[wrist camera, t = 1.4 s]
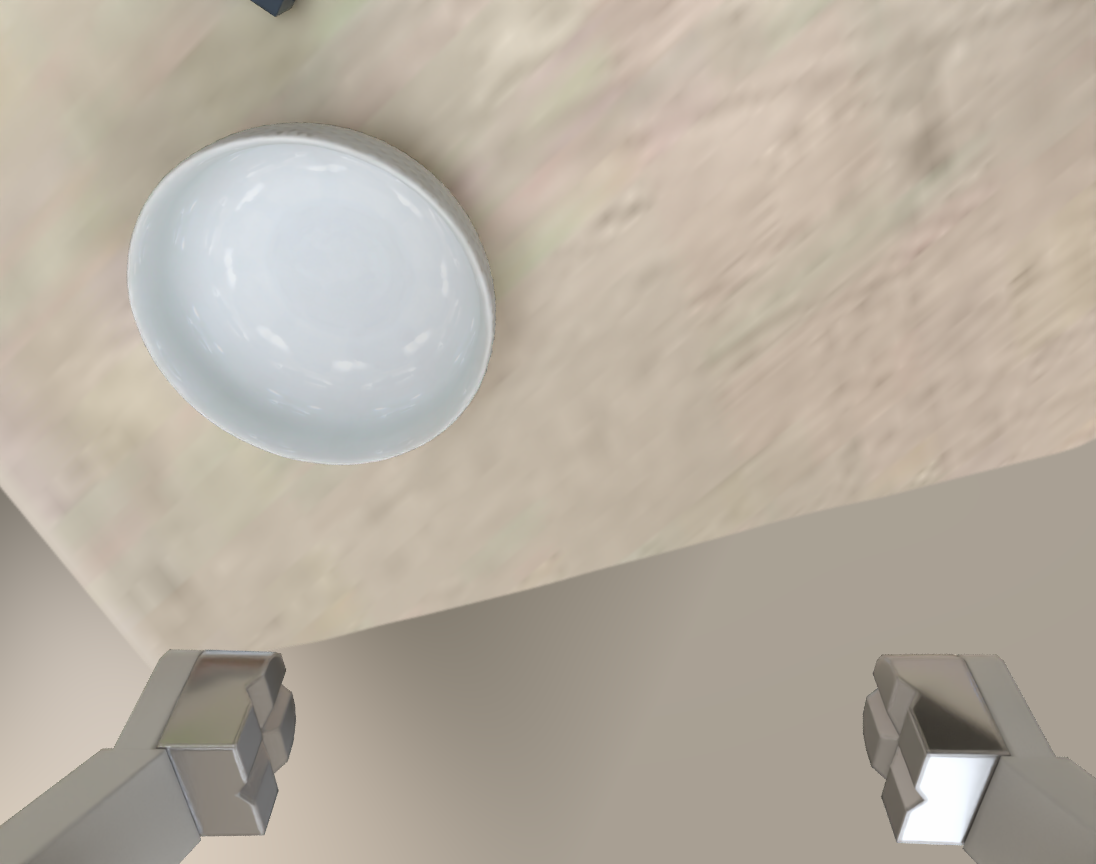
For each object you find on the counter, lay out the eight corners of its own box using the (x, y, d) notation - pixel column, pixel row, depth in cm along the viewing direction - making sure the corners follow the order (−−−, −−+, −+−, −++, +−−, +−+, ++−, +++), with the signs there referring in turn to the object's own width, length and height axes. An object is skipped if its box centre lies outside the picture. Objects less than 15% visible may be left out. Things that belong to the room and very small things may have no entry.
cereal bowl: (550, 171, 44) (546, 221, 38) (451, 432, 52) (435, 506, 47) (206, 39, 41) (143, 72, 35) (162, 339, 50) (106, 405, 44)
